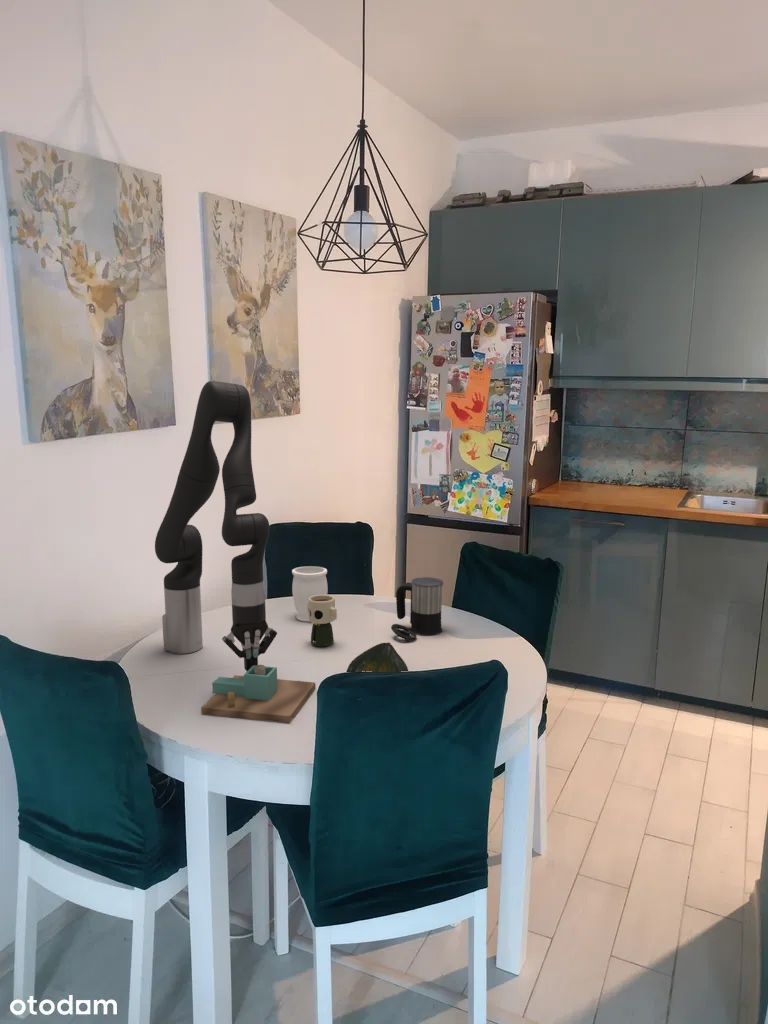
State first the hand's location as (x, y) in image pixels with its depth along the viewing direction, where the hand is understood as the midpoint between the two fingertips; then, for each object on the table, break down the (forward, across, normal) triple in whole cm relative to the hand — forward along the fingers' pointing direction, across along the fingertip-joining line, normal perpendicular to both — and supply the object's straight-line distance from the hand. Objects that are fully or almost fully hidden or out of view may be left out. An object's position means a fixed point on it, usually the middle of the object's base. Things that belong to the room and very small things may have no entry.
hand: (251, 672), depth 170 cm
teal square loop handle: (+2, +3, +5) cm, 7 cm away
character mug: (+4, -26, -19) cm, 33 cm away
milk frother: (+4, -54, -14) cm, 56 cm away
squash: (+4, -21, +22) cm, 31 cm away
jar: (+4, -32, -42) cm, 53 cm away
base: (+4, 0, +8) cm, 9 cm away
